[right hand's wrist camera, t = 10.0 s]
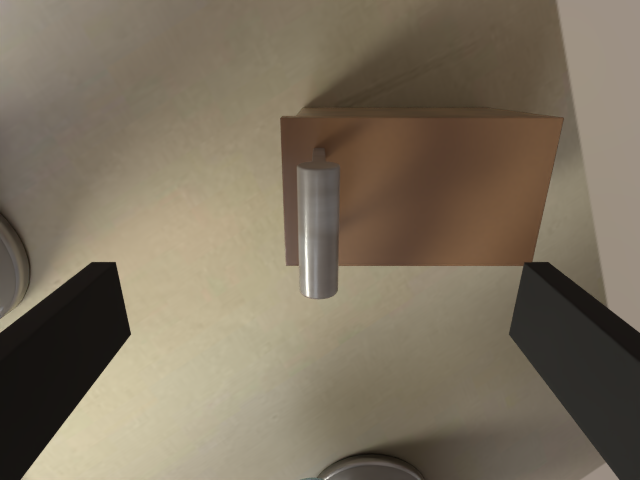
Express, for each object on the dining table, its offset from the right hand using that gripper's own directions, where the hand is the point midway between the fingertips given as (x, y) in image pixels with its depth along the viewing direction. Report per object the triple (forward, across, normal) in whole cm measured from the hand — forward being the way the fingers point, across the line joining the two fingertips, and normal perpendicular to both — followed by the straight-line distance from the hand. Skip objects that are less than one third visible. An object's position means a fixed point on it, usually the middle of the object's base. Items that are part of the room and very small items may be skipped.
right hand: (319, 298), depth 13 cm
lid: (+14, -6, 0) cm, 15 cm away
